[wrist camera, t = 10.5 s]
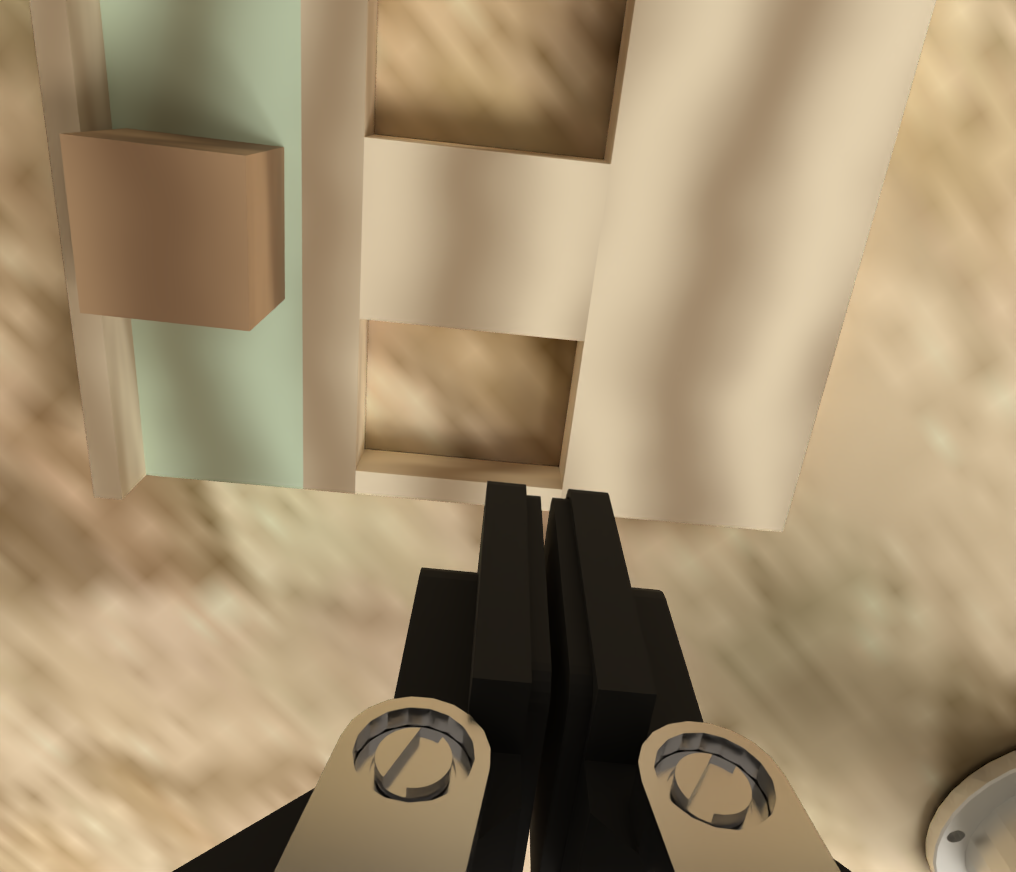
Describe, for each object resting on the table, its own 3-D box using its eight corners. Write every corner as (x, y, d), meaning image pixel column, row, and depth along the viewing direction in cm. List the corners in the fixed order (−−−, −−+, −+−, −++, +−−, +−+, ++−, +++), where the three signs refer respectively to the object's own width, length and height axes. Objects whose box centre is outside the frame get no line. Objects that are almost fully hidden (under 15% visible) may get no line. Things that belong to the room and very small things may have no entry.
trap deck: (917, -42, 24) (990, -67, 21) (767, 507, 32) (800, 559, 29) (83, -146, 23) (4, -191, 20) (142, 450, 31) (94, 497, 28)
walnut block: (284, 147, 25) (245, 156, 21) (284, 299, 27) (249, 331, 23) (126, 128, 24) (59, 133, 21) (139, 283, 26) (79, 313, 23)
